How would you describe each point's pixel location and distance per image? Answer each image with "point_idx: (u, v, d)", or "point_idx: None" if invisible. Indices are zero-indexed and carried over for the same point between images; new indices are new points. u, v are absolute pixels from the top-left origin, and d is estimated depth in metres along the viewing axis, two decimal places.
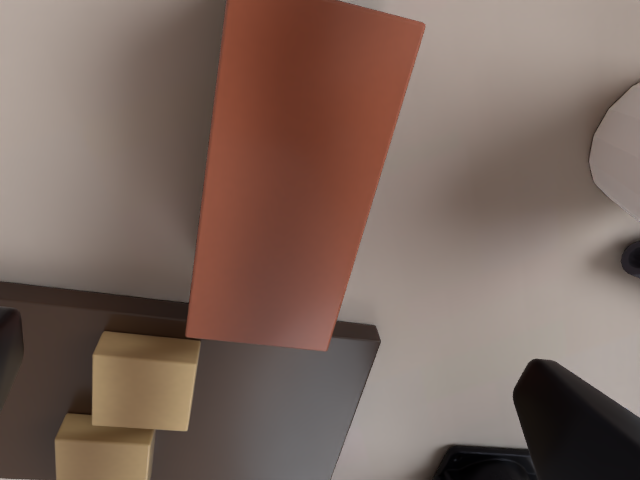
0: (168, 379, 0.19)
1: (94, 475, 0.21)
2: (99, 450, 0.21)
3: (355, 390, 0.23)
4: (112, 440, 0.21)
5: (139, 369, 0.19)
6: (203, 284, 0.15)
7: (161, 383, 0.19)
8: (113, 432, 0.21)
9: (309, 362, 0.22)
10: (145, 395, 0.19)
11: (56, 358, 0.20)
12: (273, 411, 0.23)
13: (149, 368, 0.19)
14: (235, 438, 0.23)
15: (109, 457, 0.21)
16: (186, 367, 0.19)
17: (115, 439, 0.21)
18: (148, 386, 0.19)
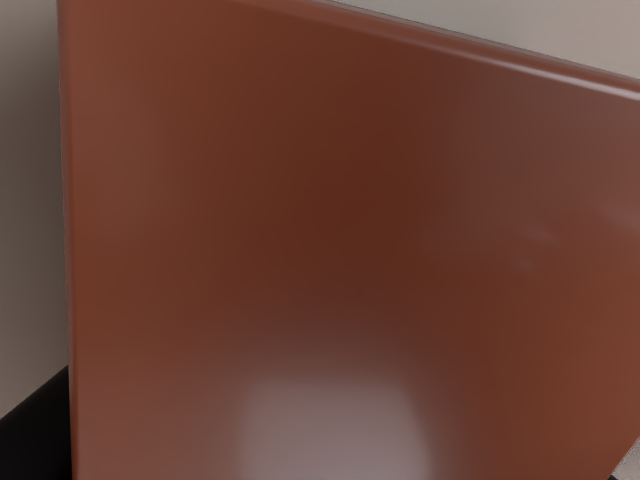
0: None
1: None
2: None
3: None
4: None
5: None
6: None
7: None
8: None
9: None
10: None
11: None
12: None
13: None
14: None
15: None
16: None
17: None
18: None
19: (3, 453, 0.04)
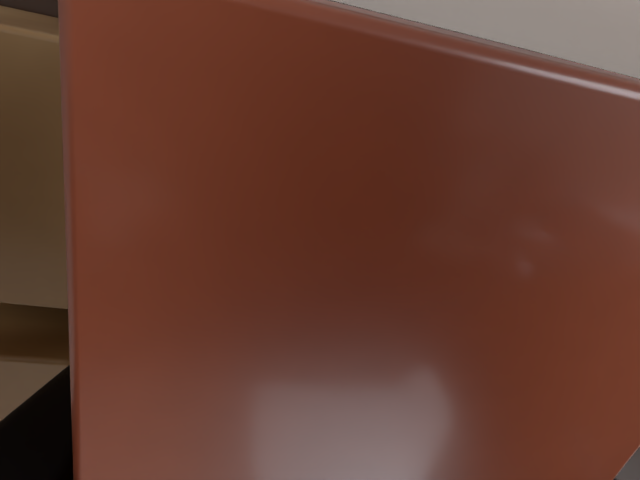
0: None
1: None
2: (11, 380, 0.08)
3: None
4: (45, 353, 0.08)
5: None
6: None
7: (55, 135, 0.06)
8: (50, 337, 0.08)
9: None
10: (8, 182, 0.06)
11: None
12: None
13: (5, 64, 0.05)
14: None
15: None
16: None
17: (54, 352, 0.08)
18: (13, 145, 0.06)
19: (5, 453, 0.04)
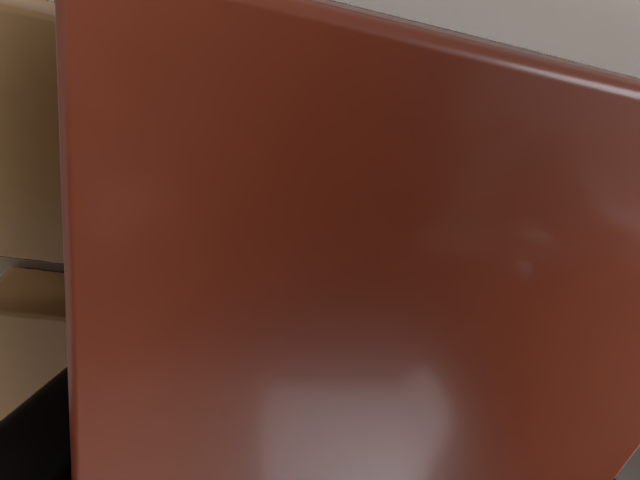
0: None
1: None
2: None
3: None
4: None
5: None
6: None
7: None
8: None
9: None
10: None
11: None
12: None
13: None
14: None
15: None
16: None
17: None
18: None
19: (5, 453, 0.04)
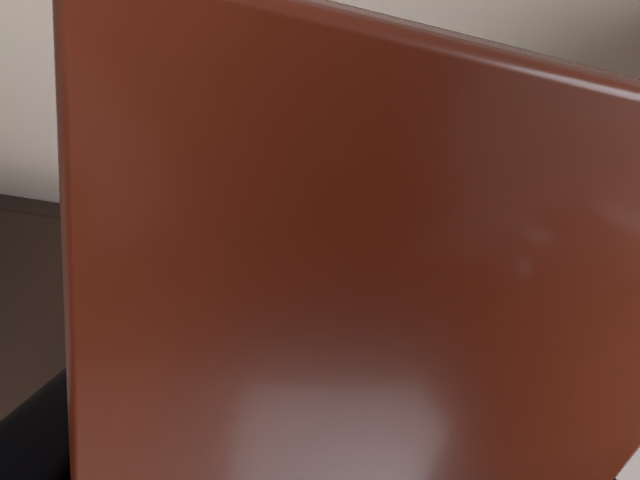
0: None
1: None
2: None
3: None
4: None
5: None
6: None
7: None
8: None
9: None
10: None
11: None
12: None
13: None
14: None
15: None
16: None
17: None
18: None
19: (5, 453, 0.04)
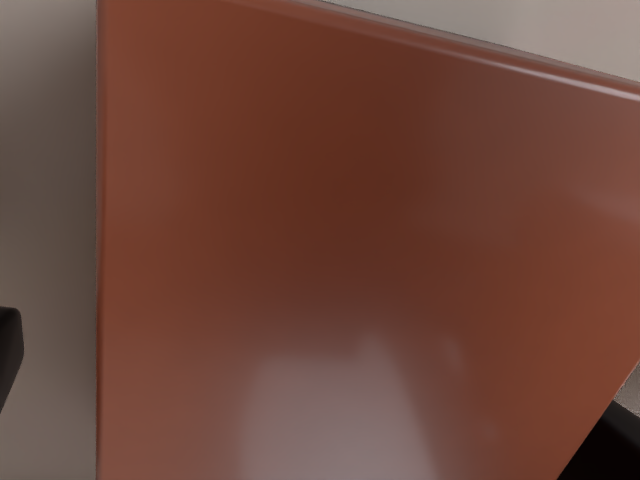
0: None
1: None
2: None
3: None
4: None
5: None
6: None
7: None
8: None
9: None
10: None
11: None
12: None
13: None
14: None
15: None
16: None
17: None
18: None
19: None
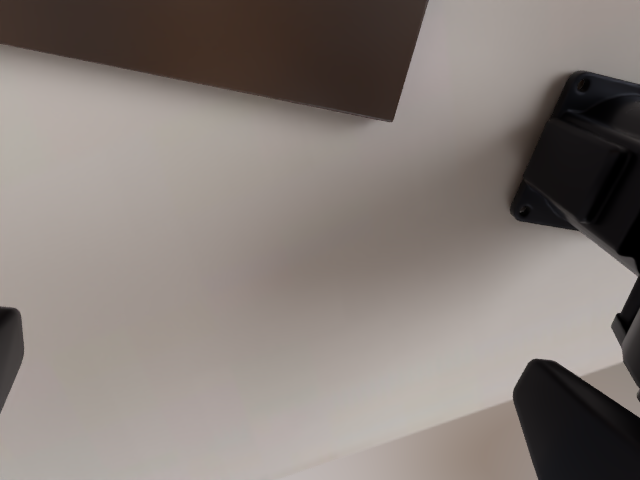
0: None
1: None
2: None
3: None
4: None
5: None
6: None
7: None
8: None
9: None
10: None
11: None
12: None
13: None
14: None
15: None
16: None
17: None
18: None
19: None
